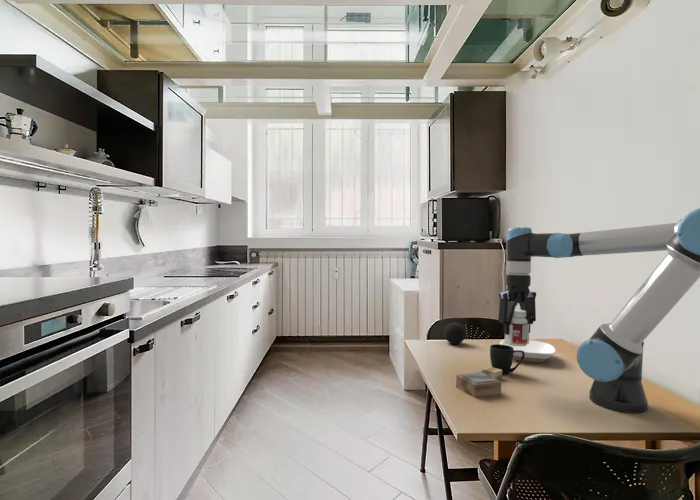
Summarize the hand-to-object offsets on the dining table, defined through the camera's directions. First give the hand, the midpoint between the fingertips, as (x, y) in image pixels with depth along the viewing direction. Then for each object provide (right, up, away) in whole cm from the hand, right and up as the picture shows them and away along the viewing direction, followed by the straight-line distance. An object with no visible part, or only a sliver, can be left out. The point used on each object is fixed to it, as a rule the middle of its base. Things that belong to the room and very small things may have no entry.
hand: (516, 343), depth 140 cm
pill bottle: (0, -1, 0) cm, 1 cm away
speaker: (-6, -14, +60) cm, 61 cm away
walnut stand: (-14, -15, -2) cm, 20 cm away
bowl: (+19, -15, +38) cm, 45 cm away
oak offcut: (-5, -15, +11) cm, 19 cm away
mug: (+3, -15, +17) cm, 23 cm away
